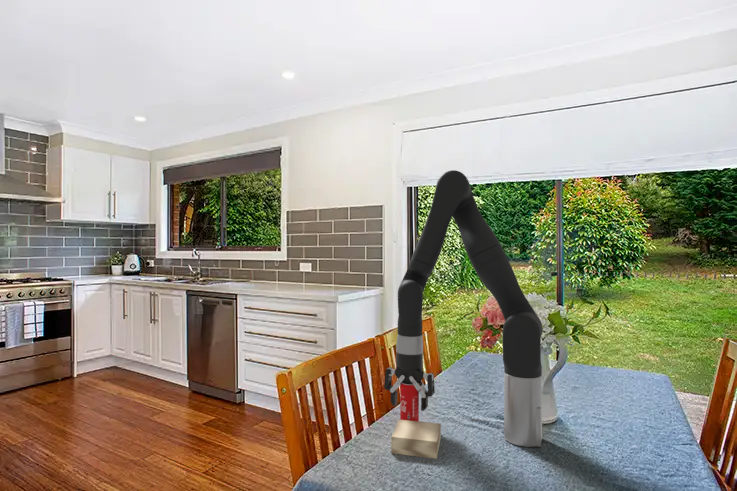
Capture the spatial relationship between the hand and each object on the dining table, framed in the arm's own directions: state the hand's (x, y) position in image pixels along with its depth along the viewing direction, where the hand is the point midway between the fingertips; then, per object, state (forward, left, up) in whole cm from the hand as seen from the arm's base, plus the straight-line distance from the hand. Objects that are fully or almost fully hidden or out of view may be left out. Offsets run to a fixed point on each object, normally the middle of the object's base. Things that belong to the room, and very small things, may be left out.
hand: (408, 407), depth 124 cm
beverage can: (0, 0, -5) cm, 5 cm away
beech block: (-6, +12, -5) cm, 15 cm away
